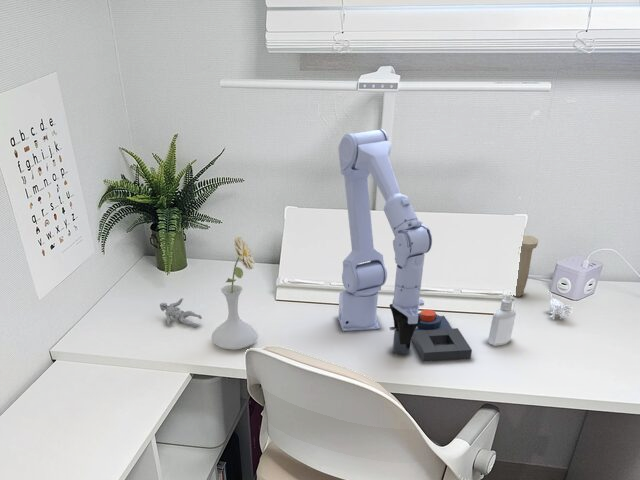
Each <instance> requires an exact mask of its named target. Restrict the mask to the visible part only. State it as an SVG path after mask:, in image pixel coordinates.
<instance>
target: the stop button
mask: <svg viewBox="0 0 640 480" xmlns="http://www.w3.org/2000/svg"><path fill="white" fill-rule="evenodd" d="M420 313H421V316H420V317H421V320H422V321H426V322H432V321H434V320H435V315H436V314H437V313H436V311H435V310H432V309H423V310H421V311H420Z"/></svg>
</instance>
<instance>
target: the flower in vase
mask: <svg viewBox="0 0 640 480" xmlns="http://www.w3.org/2000/svg"><path fill="white" fill-rule="evenodd" d="M234 249H235V252H236V255H237V259H236V261H235V264H234V266H233V273H232V278H229V277H228V278H227V280H225V283H231V284H227V285H224V286H222V287H221V288H220V292H221V293H222V294H223V295H224V297H225V299H226V302H227V309H228V316H227V319H226V320H225V321H224V322H222V323H221V324H219V326H217V327H216V328H215V329H214V330H213V332H212V333H211V334H212V335H211V337H210V338H211V341H212V343H213V344H214V345H215V346H216V347H218V348H221V349H226V350H240V349H242V350H243V349H246V348H248V347H251V346H253V345H254V344H255V343H256V342H257V340H258V339H259V333H258V332H257V330H256V329H255V327H253V326H252V325H251V324H249V323H248V322H246V321H245V320H243V319H241V317H240V316H239V306H238V305H239V297H240V295H241V293H242V291H243V287H242V286H240V285H237V284H234V282H236V281H237V279H242V278H243V276H244V271H243V269H242V268H241V267H239V266H237V265H238V263H239V262H240V263H241V264H242V266H244V268H245V269H246V270H253V269H255V267H254V265H256V261H255V258H254V256H253V255H254V252H253V250H251V249H250V246H249V245H248V241H246V240H243V238H242V236H241V235H238V236H234ZM253 264H254V265H253ZM235 277H237V279H235Z"/></svg>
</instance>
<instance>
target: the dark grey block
mask: <svg viewBox="0 0 640 480" xmlns="http://www.w3.org/2000/svg"><path fill="white" fill-rule="evenodd" d="M416 329H417V327H416ZM389 331H394V332H393V340H392V341H393V343H392V351H391V352H392V354H394V355H396V356H407V355H409V354H410V352H411V343H412V340H411V341H410V343H409V344H400V341H399V328H398V326H396V327H394V326H389Z"/></svg>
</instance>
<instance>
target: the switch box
mask: <svg viewBox="0 0 640 480" xmlns="http://www.w3.org/2000/svg"><path fill="white" fill-rule="evenodd" d="M418 316H421V312H418ZM436 329H453V327H452V326H451V324H450V322H449V321H448V320H447V318H446V316H445V315H439V314H437V313H436V315H435V320H434V321H432V322H426V321H422V320H421V322H420V323H419V324H418V325H417V329H415V330H414V331H418V330H436Z"/></svg>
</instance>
